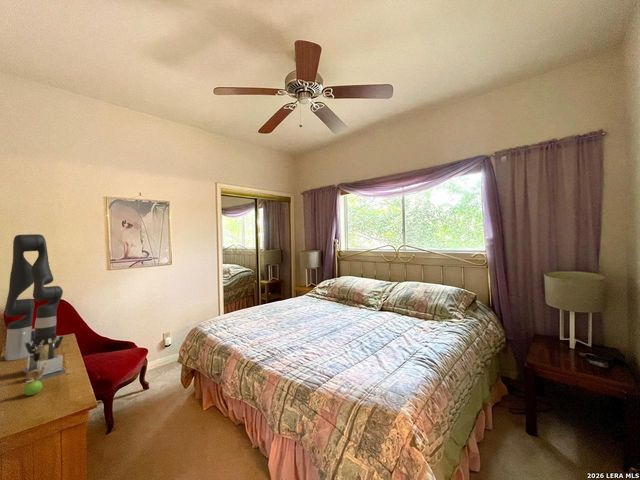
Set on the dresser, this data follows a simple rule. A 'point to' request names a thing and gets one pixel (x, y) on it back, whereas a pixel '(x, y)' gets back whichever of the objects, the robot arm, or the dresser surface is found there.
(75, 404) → the dresser surface
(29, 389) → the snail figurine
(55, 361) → the free jaw
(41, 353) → the brass block
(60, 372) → the vise
